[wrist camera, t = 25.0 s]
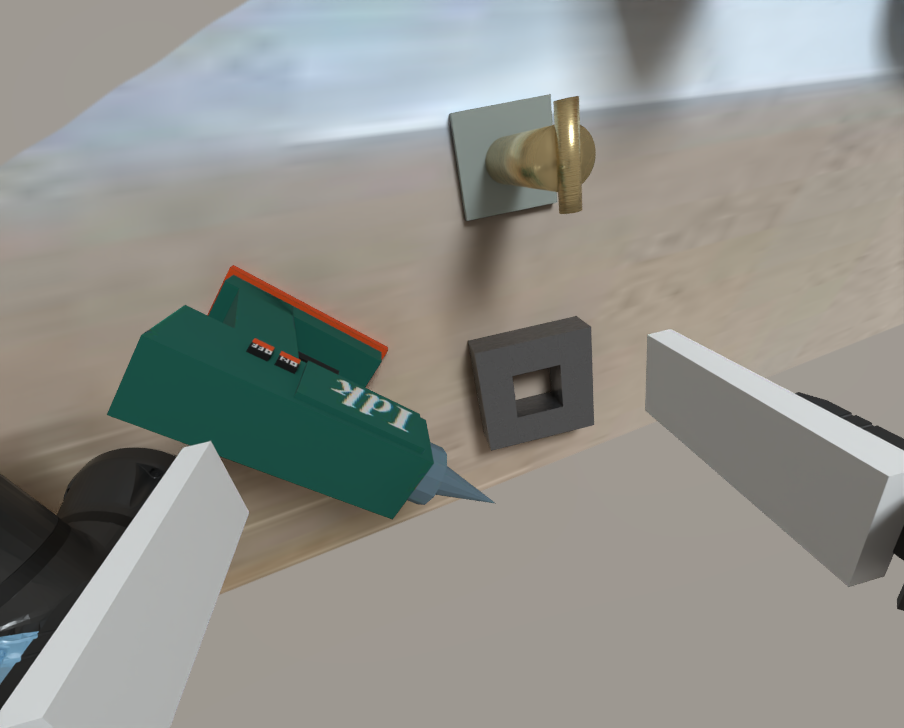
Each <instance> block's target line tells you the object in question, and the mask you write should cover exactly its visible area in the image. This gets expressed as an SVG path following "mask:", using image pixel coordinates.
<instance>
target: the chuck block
mask: <svg viewBox="0 0 904 728" xmlns="http://www.w3.org/2000/svg"><path fill="white" fill-rule="evenodd" d="M468 344H469V350H470V355H471V361H472V367H473V373H474V379H475V384H476V390H477V396H478V402H479V407H480V413H481V419H482V425H483V430H484V434H485V437H486V439H487V442H488V444H489V447H490V449H491V450H495V449H499V448H503V447H507V446H512V445H516V444H520V443H524V442H528V441H532V440H536V439H540V438H544V437H548V436H552V435H556V434H560V433H564V432H568V431H572V430H576V429H580V428H584V427H588V426H592V425H594V409H593V376H592V343H591V326H589V325H588V324H586V323H585V322H584V321H582V320H581V319H580V318H578V317H577V316H575V317H570V318H566V319H562V320H557V321H553V322H549V323H544V324H540V325H535V326H531V327H527V328H522V329H518V330H514V331H509V332H505V333H501V334H496V335H492V336H487V337H483V338H479V339H474V340H470V341H468ZM545 368H550V381H551V392H548V393H544V394H539V395H535V396H531V397H527V398H523V399H519V400H515V394H514V386H513V378H512V376H515V375H519V374H523V373H528V372H532V371H536V370H540V369H545Z"/></svg>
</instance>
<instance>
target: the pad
mask: <svg viewBox="0 0 904 728" xmlns="http://www.w3.org/2000/svg"><path fill="white" fill-rule="evenodd" d="M449 117H450V123H451V130H452V136H453V142H454V149H455V155H456V162H457V168H458V175H459V181H460V188H461V194H462V201H463V207H464V213H465V220H466V221H469V220H474V219H479V218H484V217H488V216H493V215H498V214H503V213H508V212H512V211H517V210H522V209H527V208H532V207H536V206H541V205H546V204H551V203H556V202H557V193H556V192H554V191H547V190H540V189H533V188H526V187H520V186H513V185H506V184H500V183H498V182H496V181H494V180H493V179H492V178H491V177H490V175H489V174H488V172H487V169H486V162H485V161H486V154H487V151H488V149H489V147H490V146H491V144H492V143H493V142H494V141H495V140H497V139H498V138H501V137H504V136H508V135H513V134H517V133H521V132H526V131H530V130H534V129H538V128H543V127H547V126H551V125H552V111H551V94H549V95H544V96H539V97H533V98H528V99H523V100H518V101H512V102H507V103H502V104H497V105H491V106H486V107H481V108H476V109H470V110H465V111H460V112H455V113H450V114H449Z"/></svg>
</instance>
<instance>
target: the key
mask: <svg viewBox="0 0 904 728" xmlns="http://www.w3.org/2000/svg"><path fill="white" fill-rule="evenodd" d="M553 104H554V123H555V125H551V126H547V127H543V128H538V129H534V130H530V131H526V132H521V133H517V134H513V135H508V136H504V137H501V138H498V139H497V140H495V141H494V142H493V143H492V144H491V146H490V147H489V149H488V151H487V154H486V161H485V162H486V169H487V172H488V174H489V175H490V177H491V178H492V179H493V180H494V181H496V182H498V183H500V184H506V185H513V186H520V187H526V188H533V189H540V190H547V191H554V192H558V198H559V213H560V214H569V213H575V212H579V211H582V184H583V183H584V182H585V180H586V179H587V178H588V176H589V175H590V173H591V171H592V169H593V166H594V162H595V153H596V152H595V144H594V141H593V138H592V136H591V135H590V133H589V132H588V131H587V129H585V128H584V127H583V126H581V125H580V116H579V96H576V97H570V98H565V99H561V100H557V101H554V102H553Z"/></svg>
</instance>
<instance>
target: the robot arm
mask: <svg viewBox="0 0 904 728" xmlns="http://www.w3.org/2000/svg"><path fill="white" fill-rule="evenodd" d="M645 410H646V411H647V412H648V413H649V414H650V415H651V416H652V417H654V418H655V419H656V420H657V421H658V422H660V424H662V425H663V426H664V427H665V428H666V429H667V430H669V431H670V432H671V433H672V434H673V435H674V436H675V437H677V438H678V439H679V440H680V441H681V442H682V443H684V444H685V445H686V446H687V447H688V448H689V449H691V450H692V451H693V452H694V453H695V454H696V455H697V456H698V457H700V458H701V459H702V460H703V461H704V462H705V463H706V464H708V465H709V466H710V467H711V468H712V469H713V470H715V471H716V472H717V473H718V474H719V475H720V476H721V477H723V478H724V479H725V480H726V481H727V482H728V483H729V484H731V485H732V486H733V487H734V488H735V489H736V490H738V491H739V492H740V493H741V494H742V495H743V496H744V497H746V498H747V499H748V500H749V501H750V502H751V503H753V504H754V505H755V506H756V507H757V508H758V509H759V510H761V511H762V512H763V513H764V514H765V515H766V516H768V517H769V518H770V519H771V520H772V521H773V522H774V523H776V524H777V525H778V526H779V527H780V528H782V530H784V531H785V532H786V533H787V534H788V535H790V536H791V537H792V538H793V539H794V540H795V541H796V542H797V543H799V544H800V545H801V546H802V547H803V548H804V549H805V550H807V551H808V552H809V553H810V554H811V555H812V556H813V557H815V558H816V559H817V560H818V561H819V562H820V563H822V564H823V565H824V566H825V567H826V568H827V569H828V570H830V571H831V572H832V573H833V574H834V575H835V576H837V577H838V578H839V579H840V580H841V581H842V582H843V583H845V584H846V585H847V586H848V587H850V586H854V585H857V584H860V583H864V582H867V581H870V580H874V579H877V578H880V577H883V576H885V573H886V571H887V569H888V566H889V564H890V562H891V559H892V557H893V554H896V555H897V556H898V557H899V558H901V559H902V560H904V439H903V438H901V437H899V436H897V435H895V434H893V433H891V432H889V431H887V430H885V429H883V428H881V427H879V426H873V425H872V423H871V422H869V421H867V420H865V419H863V418H861V417H859V416H857V415H855V416H853V415H852V413H851V412H849V411H847V410H845V409H843V408H841V407H839V406H837V405H835V404H833V403H831V402H829V401H827V400H824V399H820V398H817V397H813V396H810V395H806V394H803V393H800V392H798V393H792V392H790V391H789V390H787V389H785V388H783V387H781V386H779V385H777V384H775V383H773V382H771V381H769V380H767V379H766V378H764V377H762V376H760V375H758V374H756V373H754V372H752V371H750V370H748V369H746V368H744V367H743V366H741V365H739V364H737V363H735V362H733V361H731V360H729V359H727V358H725V357H723V356H721V355H720V354H718V353H716V352H714V351H712V350H710V349H708V348H706V347H704V346H702V345H700V344H698V343H696V342H695V341H693V340H691V339H689V338H687V337H685V336H683V335H681V334H679V333H677V332H675V331H673V330H672V329H669V330H665V331H661V332H657V333H653V334H649V335H647V366H646V400H645ZM248 514H249V511H248V509H247V507H246V505H245V504H244V502H243V500H242V498H241V496H240V494H239V492H238V491H237V489H236V487H235V485H234V483H233V481H232V479H231V477H230V476H229V474H228V472H227V470H226V468H225V466H224V464H223V463H222V461H221V459H220V457H219V455H218V453H217V451H216V449H215V448H214V446H213V444H212V442H211V441H209V442H205V443H201V444H196V445H192V446H188V447H184V448H183V449H182V450H181V452H180V453H179V454H178V456H177V457H175V456H173V455H170V454H168V453H165V452H162V451H158V450H153V449H146V448H123V449H117V450H112V451H109V452H106V453H103V454H101V455H99V456H97V457H95V458H94V459H92V460H91V461H89V462H88V463H87V464H86V465H85V466H84V467H83V468H82V469H81V470H80V471H79V472H78V473H77V474H76V475H75V476H74V478H73V479H72V480H71V482H70V483H69V485H68V487H67V489H66V492H65V495H64V500H63V503H62V505H61V507H60V509H59V512H58V514H57V516H56V515H55V514H54V513H52V512H51V511H50V510H48V509H47V508H46V507H44V506H43V505H42V504H40V503H39V502H38V501H36V500H35V499H34V498H32V497H31V496H30V495H28V494H27V493H26V492H24V491H23V490H22V489H20V488H19V487H18V486H16V485H15V484H14V483H12V482H11V481H10V480H8V479H7V478H6V477H4V476H3V475H1V474H0V728H170V726H171V723H172V721H173V718H174V715H175V712H176V710H177V707H178V704H179V702H180V698H181V696H182V693H183V691H184V688H185V685H186V682H187V680H188V677H189V674H190V672H191V669H192V666H193V664H194V661H195V658H196V655H197V653H198V650H199V647H200V645H201V642H202V639H203V636H204V633H205V631H206V628H207V626H208V623H209V620H210V617H211V615H212V612H213V609H214V606H215V604H216V601H217V598H218V596H219V593H220V590H221V588H222V585H223V582H224V579H225V577H226V574H227V571H228V569H229V566H230V563H231V560H232V558H233V555H234V552H235V550H236V547H237V544H238V541H239V539H240V536H241V533H242V531H243V528H244V525H245V522H246V520H247V517H248ZM897 609H900V610H903V611H904V585H903V587H902V589H901V591H900V594H899V596H898V598H897Z"/></svg>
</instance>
